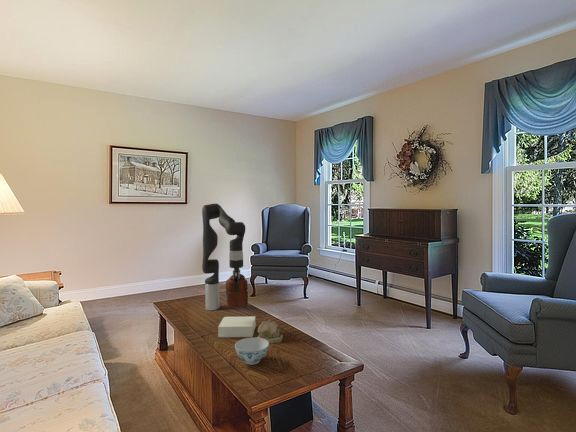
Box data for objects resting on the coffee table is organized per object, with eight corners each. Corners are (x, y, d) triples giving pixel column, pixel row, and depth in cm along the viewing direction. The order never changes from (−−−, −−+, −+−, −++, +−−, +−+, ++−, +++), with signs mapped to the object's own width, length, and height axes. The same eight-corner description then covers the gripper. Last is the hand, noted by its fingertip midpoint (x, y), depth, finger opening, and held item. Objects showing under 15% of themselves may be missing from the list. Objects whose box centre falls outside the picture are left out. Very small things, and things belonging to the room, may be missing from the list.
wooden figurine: (247, 304, 189) (247, 272, 189) (248, 307, 183) (247, 274, 183) (226, 305, 187) (225, 273, 187) (226, 308, 181) (225, 275, 181)
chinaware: (272, 366, 144) (272, 348, 144) (237, 371, 140) (237, 353, 140) (265, 351, 159) (264, 335, 159) (233, 356, 155) (232, 339, 154)
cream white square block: (224, 327, 194) (224, 316, 193) (255, 326, 193) (255, 316, 193) (218, 338, 178) (218, 326, 177) (252, 337, 177) (252, 326, 177)
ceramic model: (252, 341, 171) (252, 322, 171) (260, 333, 182) (260, 315, 182) (278, 344, 167) (278, 324, 167) (285, 336, 178) (285, 317, 178)
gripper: (230, 256, 191) (230, 286, 192) (228, 260, 177) (229, 292, 177) (243, 256, 192) (244, 285, 192) (242, 260, 178) (243, 292, 178)
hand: (236, 288), depth 185 cm, fingers closed on wooden figurine, 6 cm apart
